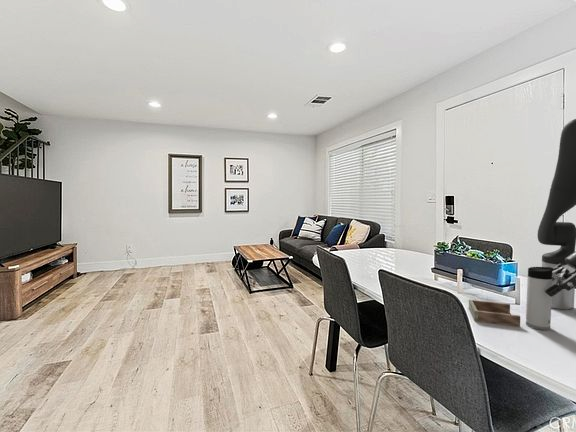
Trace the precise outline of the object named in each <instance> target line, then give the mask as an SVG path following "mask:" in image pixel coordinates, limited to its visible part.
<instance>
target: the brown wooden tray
mask: <svg viewBox="0 0 576 432" xmlns="http://www.w3.org/2000/svg"><path fill="white" fill-rule="evenodd" d="M468 310H469V312H470V314H471V316H472V318H473V321H474V322H481V323H489V324H494V325H495V324H496V325H504V326H511V327H518V328H520V327H521V316H520V315H518V314H512V313H511V304H510V303H505V302H496V301H486V300H476V299H468Z"/></svg>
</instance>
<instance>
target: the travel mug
mask: <svg viewBox="0 0 576 432" xmlns="http://www.w3.org/2000/svg"><path fill="white" fill-rule="evenodd" d="M552 270H553V268H551V267H542V266H530V267H528V268H527V283H526V286H527V287H526V307H525V308H526V310H525V324H526V326H528V327H529V328H533V329H535V330H540V331H549V330H551V319H552V308H551V300H552V297H550V296H549V295H548V294H547V293H545V290H547V289H548V288H550V287H551V286H552Z"/></svg>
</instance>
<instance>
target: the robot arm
mask: <svg viewBox="0 0 576 432" xmlns="http://www.w3.org/2000/svg"><path fill="white" fill-rule="evenodd" d="M559 140H560V141H559V149H558V157H557V161H556V166H555V170H554V174H553V178H552V180H551V181H552V182H551V185H550V188H549V193H548V199H547V202H546V203H547V204H546V207H545V209H544V213H543V214H542V215H543V216H542V218H541V221H540V224H539V226H538V229H537V240H538V242H539V243H540V244H541V245H545V246H559V248H558V249H557V250H554V251H551V252H546V253H544V254H542V255H541V267H551V268H553V270H552V286H551V287H550V288H548V289H547V290H545V293H547V294H548V295H549V296H550V297H552V300H551V309H556V310H557V309H558V310H571V309H572V308H575V289H576V225H575V224H574V223H572V222H569V221H558V220H559V218H561V216H564V214H565V213H567V212H568V211H570V210H571V209H573V208H574V207H575V206H576V118H574V119H572V120H570V121H568V122H567V123H566V124H565V125H564V126H563V127H562V130H561V134H560V138H559Z"/></svg>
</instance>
